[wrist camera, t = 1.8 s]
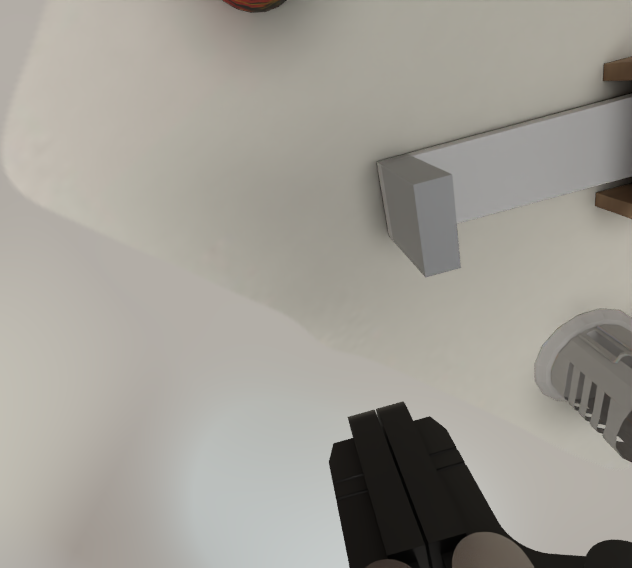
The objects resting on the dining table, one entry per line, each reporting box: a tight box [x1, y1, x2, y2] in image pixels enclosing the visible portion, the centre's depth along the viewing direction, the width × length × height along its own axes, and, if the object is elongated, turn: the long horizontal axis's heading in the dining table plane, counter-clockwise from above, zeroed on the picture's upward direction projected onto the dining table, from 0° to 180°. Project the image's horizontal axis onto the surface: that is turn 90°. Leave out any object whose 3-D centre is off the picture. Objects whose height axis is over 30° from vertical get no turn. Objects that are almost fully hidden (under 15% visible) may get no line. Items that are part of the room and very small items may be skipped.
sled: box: [377, 93, 632, 277], centre depth 25 cm, size 5×28×7 cm, turn 103°
